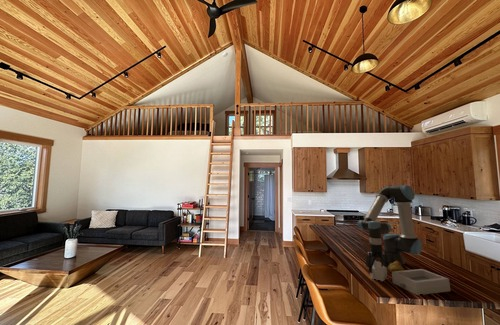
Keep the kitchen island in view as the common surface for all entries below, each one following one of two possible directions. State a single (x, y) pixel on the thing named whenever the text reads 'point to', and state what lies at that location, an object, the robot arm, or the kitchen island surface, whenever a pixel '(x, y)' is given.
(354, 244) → the kitchen island surface
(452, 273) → the kitchen island surface
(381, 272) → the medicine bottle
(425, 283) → the grey rectangular tray
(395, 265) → the bread roll
